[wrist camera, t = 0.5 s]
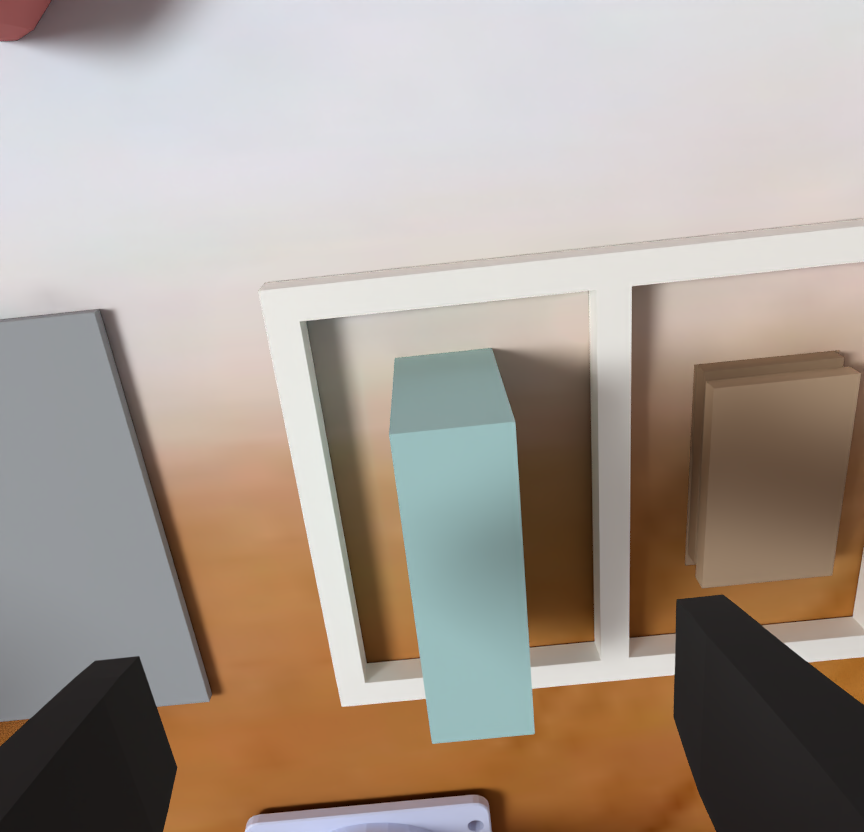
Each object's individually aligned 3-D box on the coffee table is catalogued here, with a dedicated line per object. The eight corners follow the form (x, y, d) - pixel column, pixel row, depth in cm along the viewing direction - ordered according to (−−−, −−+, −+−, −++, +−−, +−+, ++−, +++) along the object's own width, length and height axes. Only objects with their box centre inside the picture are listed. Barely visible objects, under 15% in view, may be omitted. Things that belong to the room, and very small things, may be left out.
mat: (211, 693, 22) (209, 701, 22) (-48, 718, 22) (-54, 726, 22) (99, 308, 17) (93, 312, 17) (-231, 344, 17) (-242, 348, 17)
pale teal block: (510, 607, 21) (534, 733, 17) (428, 615, 21) (432, 743, 17) (491, 346, 18) (515, 421, 14) (394, 356, 18) (389, 434, 14)
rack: (876, 635, 22) (892, 654, 21) (344, 686, 22) (341, 706, 21) (952, 209, 17) (977, 213, 16) (264, 283, 17) (258, 291, 16)
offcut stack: (804, 544, 21) (832, 575, 19) (679, 556, 21) (698, 588, 20) (828, 344, 18) (862, 363, 17) (687, 358, 19) (710, 379, 17)
